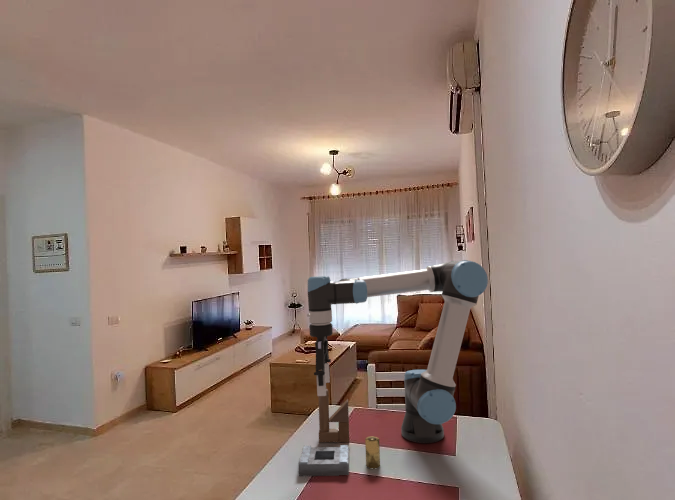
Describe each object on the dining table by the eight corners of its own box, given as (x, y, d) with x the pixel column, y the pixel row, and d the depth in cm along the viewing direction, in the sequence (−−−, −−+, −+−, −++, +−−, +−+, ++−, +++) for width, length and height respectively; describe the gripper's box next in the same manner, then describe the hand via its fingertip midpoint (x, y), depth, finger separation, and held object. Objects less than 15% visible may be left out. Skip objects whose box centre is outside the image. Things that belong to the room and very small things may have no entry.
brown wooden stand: (349, 442, 143) (347, 391, 144) (318, 443, 144) (317, 391, 144) (349, 438, 147) (347, 387, 147) (319, 438, 147) (318, 388, 148)
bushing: (379, 461, 129) (378, 435, 129) (380, 468, 124) (379, 441, 125) (365, 462, 129) (365, 436, 129) (366, 469, 125) (365, 442, 125)
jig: (349, 457, 132) (348, 445, 132) (348, 475, 121) (348, 461, 121) (303, 458, 133) (302, 445, 133) (298, 476, 122) (298, 462, 122)
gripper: (313, 318, 146) (316, 378, 145) (303, 330, 121) (307, 402, 120) (334, 317, 145) (337, 377, 145) (329, 329, 120) (332, 401, 120)
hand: (323, 388), depth 133 cm, fingers open, 13 cm apart
